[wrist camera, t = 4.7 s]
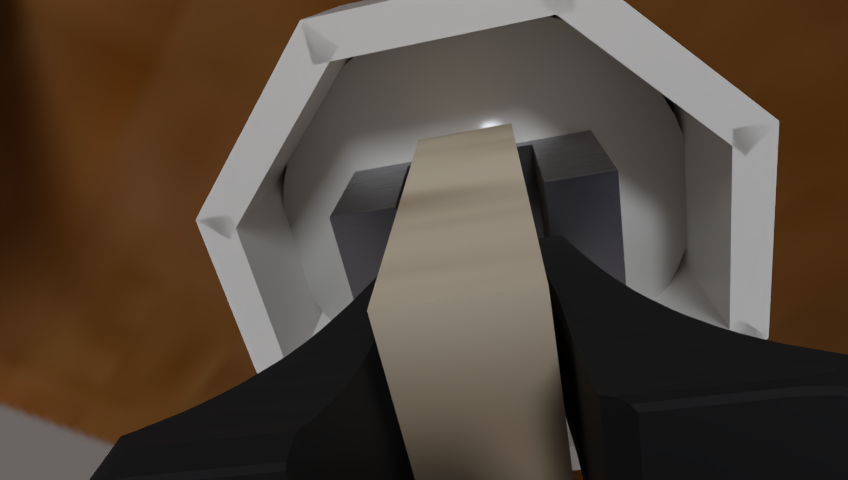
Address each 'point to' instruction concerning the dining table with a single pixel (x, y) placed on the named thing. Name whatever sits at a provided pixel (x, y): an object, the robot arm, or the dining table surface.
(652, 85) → the bowl
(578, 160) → the clip
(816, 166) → the dining table surface
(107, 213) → the dining table surface
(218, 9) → the dining table surface
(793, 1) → the dining table surface
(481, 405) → the wood grain plank
